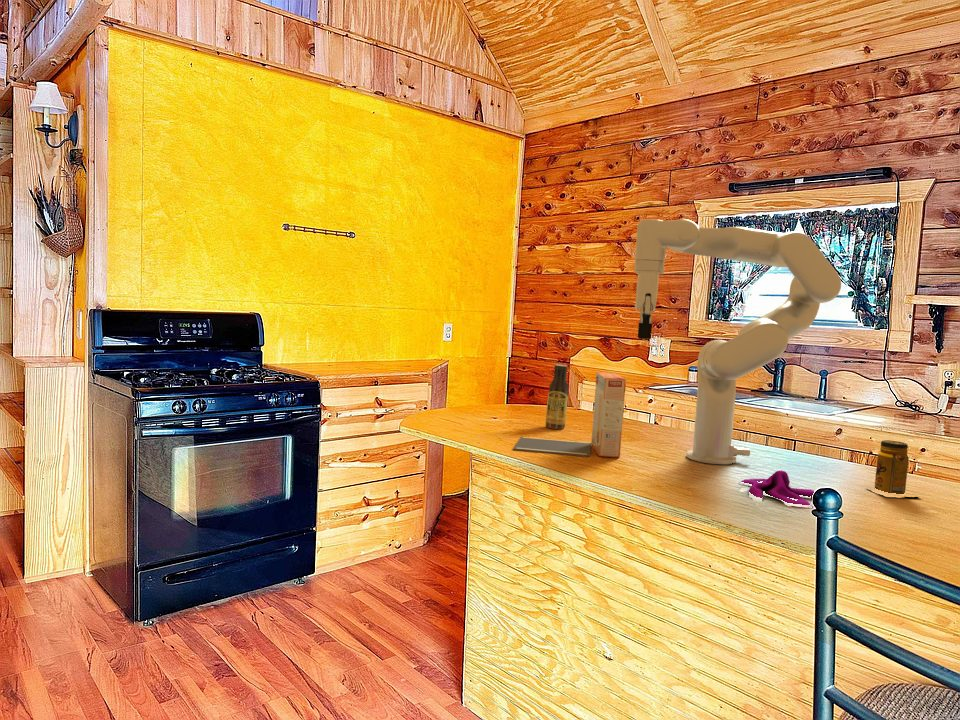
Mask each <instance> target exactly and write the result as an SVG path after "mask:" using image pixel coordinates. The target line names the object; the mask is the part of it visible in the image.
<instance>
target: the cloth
mask: <svg viewBox="0 0 960 720" xmlns="http://www.w3.org/2000/svg"><path fill="white" fill-rule="evenodd" d="M757 481H758V482H760V481H763V482H762V483H758V482H757ZM740 482H744V483H749V484H752V486H751V487H749V491H748V493H749V492H750V493H751V494H753V495H754V496H756V497H760V498H762V497H763V498H764V495H763V491H765V493H766V494H768V495H770V496H773V497H775V498H778V499H781V500H783V501H785V502H787V503H793V504H802V505H810V504H811V503H810V502H809V501H808V500H806V498H802V497H800V496H799V495H803V496H808V497H810V496H811V499H810V500H812V495H813V493H814V491H815V490H814V489H810V488H809V489H807V488H797V487H795V488H794V487H793V488H792V487H791V486H790V478H789V475H788V473H787V472H786V471H785V470H776V471H775V472H774V473H773V474H771V476H769V477H768V478H745V479H743V480H741V481H740ZM787 497H789V498H787ZM790 498H794V499H798V500H797V501H795V500H792V499H790ZM812 501H813V500H812ZM813 508H814V507H813V506H812V508H811V509H813Z"/></svg>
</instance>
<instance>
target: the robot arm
mask: <svg viewBox="0 0 960 720" xmlns="http://www.w3.org/2000/svg"><path fill="white" fill-rule="evenodd" d="M666 248H667V249H668V250H670V251H672V252H676V253H683V254H688V255H693V256H694V255H696V256H702V257H711V258H718V259H722V260H729V261H738V262H743V263H751V264H758V265H762V266H763V265H764V266H770V267H774V268H775V267H776V268H787V269H788V270H789V272H790V273H791V274H792V276H794V277H793V278H792V280H791V282H790V285H789V286H790V287H789V293H788V296H787V299H786V300H785V302H784V303H783V304H782V305H780V306H778V307H777V308H775V309H774V310H772V311H770V312H768V313H766V314H764V315H762V316H760V317H758V318H756V319H754V320H752V321H750V322H747V324H745V325H744V326H743V327H742V328H741V329H740V330H739V332H738V334H737V335H736V336H734V337H733V338H731V339H729V340H724V339H713V340H711V341H709V342H706V344H704V345H703V346H702V347H701V349H700V351H699V354H698V355H697V393H696V395H697V396H696V404H695V405H696V406H695V416H694V419H695V420H694V431H693V443H692V449H689V450H687V451H686V452H685V454H686V455H685V456H686V458H688V459H690V460H692V461H694V462H698V463H699V462H700V463H704V464H709V465H710V464H712V465H732V463H733V464H735V463H736V462H737V456H743V457H750V455H751V449H750V448H744V447H740V446H739V447H738V446H735V445H734V444H733V443H732V440H733V429H734V416H735V405H736V404H735V403H736V395H737V393H736V392H737V380H738V379H740V378H741V377H743V376H747V375H748V374H750V373H751V372H754V371H756V370H758V369H759V368H762V367H763V366H765V365H767V364H769V363H771V362H773V361H774V360H777V358H779V357H780V356H781V355H783V354H784V352H785V351H786V349H787V347H788V345H789V341H790V340H791V339H793V338H795V337H796V336H798V335H799V334H802V333H803V332H804V331H806V330H807V329H809V327H810V326H811V325H812V324H813V323H814V321H815V319H816V317H817V315H818V313H819V310H820V305H821V304H825V303H829V302H831V301H834V299H835V298H837V297H838V295H839V294H840V292H841V289H842V281H841V277H840V276H839V273H838V272H837V270H836V269H835V268H834V266H832V264H831V263H830V262H829V260H828V258H826V256H825V255H824V254H823V252H822V251H821V250H820V248H819V247H818V246H817V244H815V243H814V241H813V240H812V239H811V238H810V237H809V236H808V235H806V234H805V233H803V232H801V231H789V232H784V233H783V232H777V231H776V232H775V231H768V230H762V229H755V228H748V227H744V226H743V227H742V226H730V227H717V228H716V227H715V228H714V227H705V226H704V227H703V226H699V225H698V224H697V223H695V222H694V221H692V220H690V219H686V218H685V219H684V218H683V219H673V220H670V219H669V220H662V219H653V218H651V219H641V220H640V221H639V222H638V223H637V229H636V242H635V255H634V256H635V257H634V269H633V273H634V274H637V280H636V289H635V290H636V291H635V304H634V310H635V311H637V312H639V311H640V312H639V322H638V327H637V328H638V329H637V338H638V339H640V340H651V339H652V330H653V329H652V328H653V324H652V318H653V317H652V316H653V312H655V310H656V305H657V299H658V289H659V277H660V275H665V274H664V273H665V261H666Z"/></svg>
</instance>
